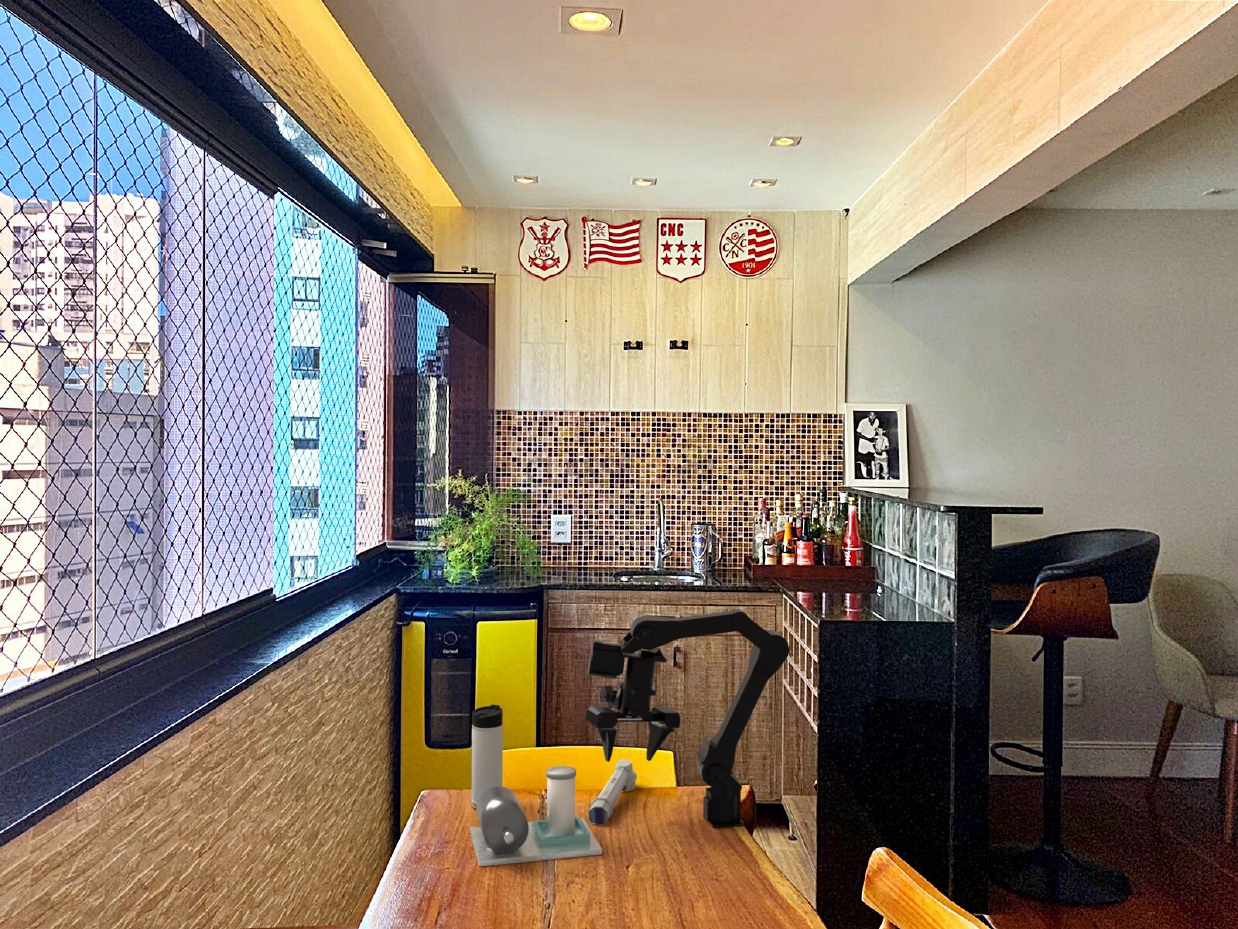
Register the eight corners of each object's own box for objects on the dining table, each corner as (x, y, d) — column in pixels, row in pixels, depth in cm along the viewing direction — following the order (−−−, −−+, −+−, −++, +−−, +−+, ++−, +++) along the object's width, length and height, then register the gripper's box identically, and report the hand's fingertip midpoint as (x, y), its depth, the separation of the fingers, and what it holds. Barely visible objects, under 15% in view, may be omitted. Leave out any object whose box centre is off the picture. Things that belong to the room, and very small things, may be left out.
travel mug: (508, 802, 197) (509, 706, 197) (491, 813, 191) (492, 713, 191) (483, 798, 200) (483, 703, 200) (465, 808, 194) (466, 710, 194)
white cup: (579, 831, 179) (580, 767, 179) (569, 842, 174) (570, 776, 174) (552, 828, 181) (552, 765, 181) (541, 839, 175) (541, 773, 175)
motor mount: (582, 822, 186) (583, 776, 186) (604, 858, 169) (604, 808, 169) (469, 832, 181) (470, 785, 181) (480, 871, 163) (480, 819, 163)
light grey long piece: (584, 805, 186) (615, 751, 210) (585, 837, 186) (616, 780, 210) (610, 807, 184) (638, 753, 208) (611, 840, 185) (639, 782, 209)
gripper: (658, 672, 198) (648, 747, 197) (578, 670, 189) (568, 748, 189) (687, 686, 188) (676, 765, 188) (604, 684, 179) (592, 767, 179)
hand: (628, 760), depth 186 cm, fingers open, 9 cm apart
